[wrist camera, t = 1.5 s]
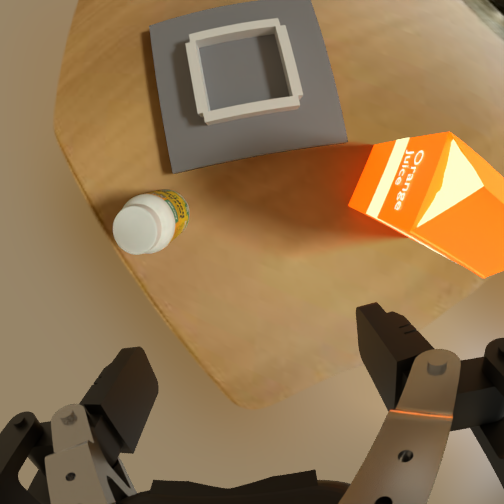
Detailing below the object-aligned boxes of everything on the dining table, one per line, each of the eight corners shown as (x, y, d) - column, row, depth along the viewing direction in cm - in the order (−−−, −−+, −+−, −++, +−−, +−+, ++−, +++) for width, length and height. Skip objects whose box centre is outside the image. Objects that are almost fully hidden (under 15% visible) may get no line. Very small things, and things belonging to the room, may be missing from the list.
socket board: (153, 30, 27) (143, 18, 23) (307, 2, 25) (311, -13, 22) (176, 173, 31) (167, 173, 28) (343, 143, 30) (353, 140, 26)
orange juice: (408, 239, 32) (528, 307, 13) (346, 206, 32) (455, 257, 12) (433, 179, 30) (567, 201, 11) (373, 142, 30) (501, 121, 10)
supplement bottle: (135, 214, 32) (93, 231, 23) (165, 178, 31) (129, 182, 22) (169, 247, 33) (138, 275, 24) (201, 212, 32) (178, 228, 23)
